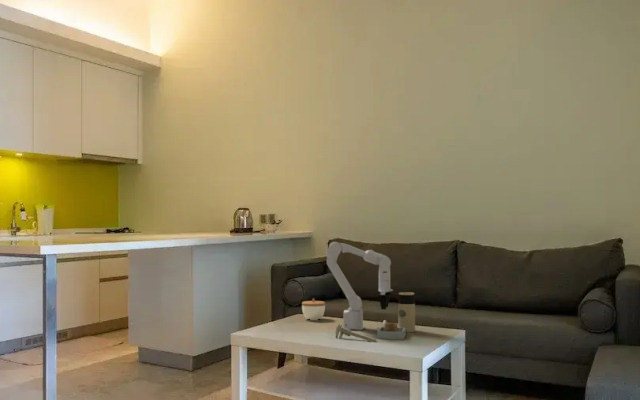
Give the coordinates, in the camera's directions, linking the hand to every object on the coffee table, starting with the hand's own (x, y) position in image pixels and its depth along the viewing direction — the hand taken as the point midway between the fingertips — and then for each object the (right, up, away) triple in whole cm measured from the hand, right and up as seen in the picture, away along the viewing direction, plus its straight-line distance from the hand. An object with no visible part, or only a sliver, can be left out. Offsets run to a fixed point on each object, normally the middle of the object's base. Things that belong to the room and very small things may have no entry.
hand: (384, 308), depth 275 cm
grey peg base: (-1, -10, -8) cm, 12 cm away
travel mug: (+10, -10, -7) cm, 15 cm away
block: (+1, -8, -20) cm, 22 cm away
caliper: (-16, -9, -28) cm, 33 cm away
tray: (+1, -9, -20) cm, 22 cm away
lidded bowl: (-35, -12, +27) cm, 46 cm away
